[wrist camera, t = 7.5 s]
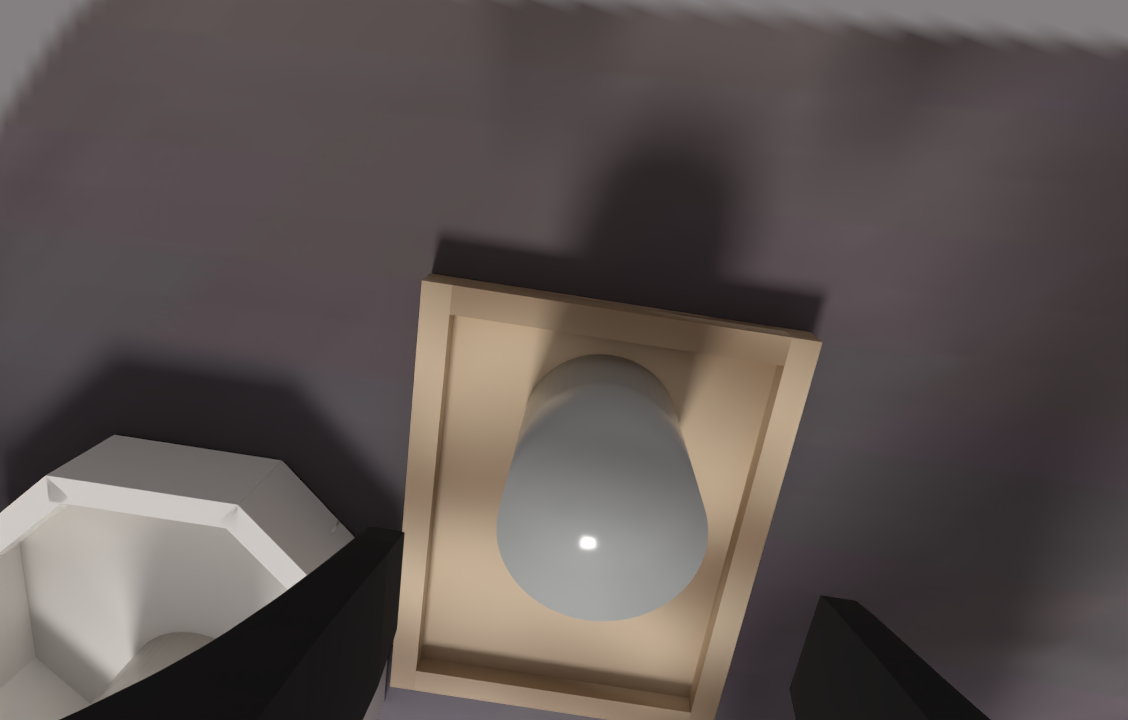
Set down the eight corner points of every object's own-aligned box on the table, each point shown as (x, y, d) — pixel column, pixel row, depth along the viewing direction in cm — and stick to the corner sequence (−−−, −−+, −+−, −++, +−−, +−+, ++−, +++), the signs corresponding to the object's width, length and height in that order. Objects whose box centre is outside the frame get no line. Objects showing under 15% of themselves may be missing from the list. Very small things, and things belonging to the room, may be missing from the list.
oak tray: (704, 709, 22) (710, 735, 21) (398, 663, 22) (389, 686, 21) (810, 332, 18) (822, 342, 17) (431, 273, 18) (421, 280, 17)
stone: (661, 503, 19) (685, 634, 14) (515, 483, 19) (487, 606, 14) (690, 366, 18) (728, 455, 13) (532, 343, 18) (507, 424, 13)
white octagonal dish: (378, 779, 24) (353, 852, 21) (39, 728, 24) (-25, 795, 21) (401, 478, 20) (373, 525, 17) (-6, 416, 20) (-91, 454, 17)
